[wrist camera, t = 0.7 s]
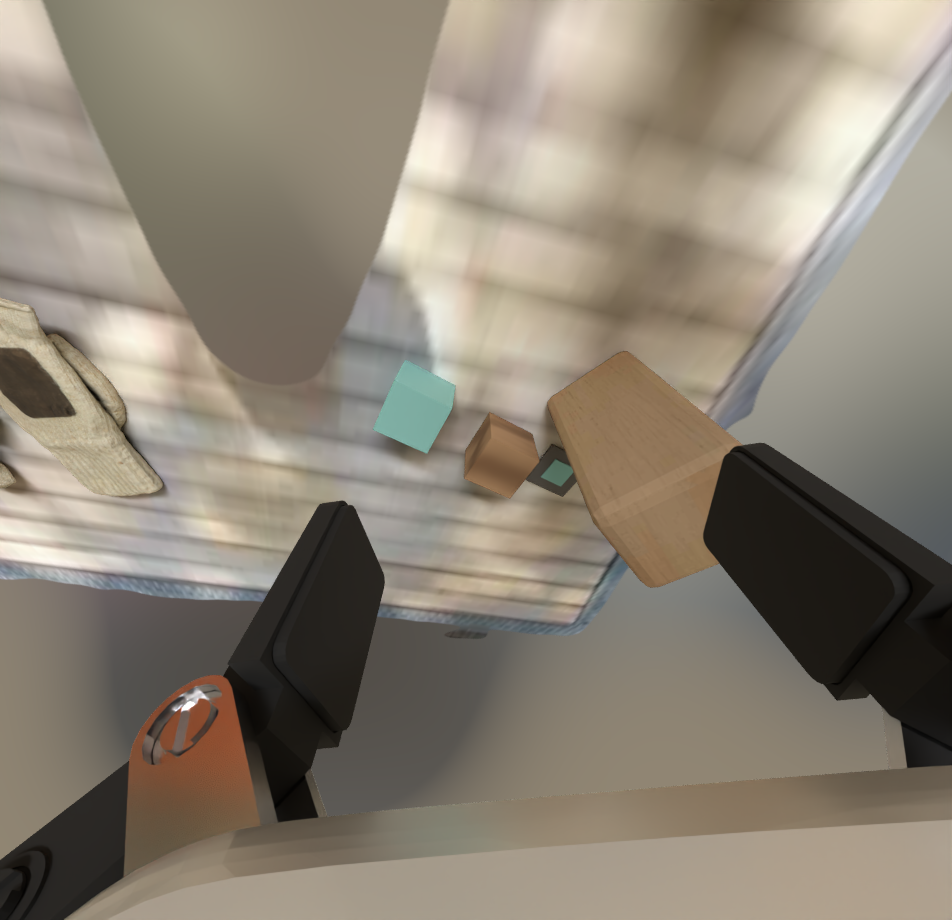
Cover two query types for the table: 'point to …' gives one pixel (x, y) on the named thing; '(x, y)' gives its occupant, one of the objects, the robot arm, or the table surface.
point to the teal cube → (415, 407)
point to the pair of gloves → (66, 407)
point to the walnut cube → (500, 456)
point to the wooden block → (643, 465)
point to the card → (553, 472)
